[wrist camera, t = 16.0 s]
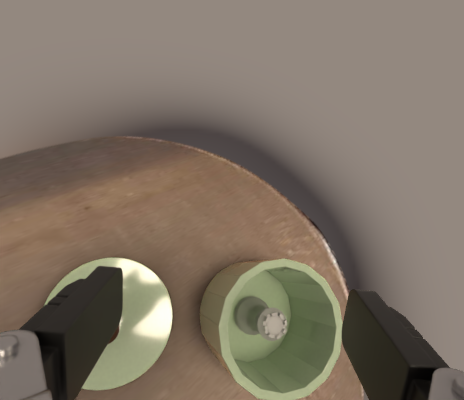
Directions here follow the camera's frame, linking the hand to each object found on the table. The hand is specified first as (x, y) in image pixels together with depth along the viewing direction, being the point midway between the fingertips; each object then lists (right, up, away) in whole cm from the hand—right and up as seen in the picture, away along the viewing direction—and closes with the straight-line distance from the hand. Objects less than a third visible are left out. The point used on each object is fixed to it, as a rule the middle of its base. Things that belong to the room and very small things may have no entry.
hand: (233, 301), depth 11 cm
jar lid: (-14, -10, +23) cm, 29 cm away
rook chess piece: (+2, -11, +28) cm, 30 cm away
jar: (+2, -11, +28) cm, 30 cm away
